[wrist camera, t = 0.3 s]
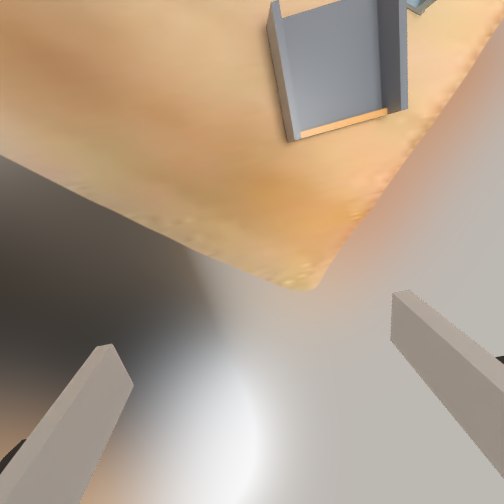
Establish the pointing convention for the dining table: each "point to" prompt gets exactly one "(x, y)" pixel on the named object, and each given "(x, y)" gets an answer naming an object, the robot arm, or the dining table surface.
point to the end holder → (339, 64)
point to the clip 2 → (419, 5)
